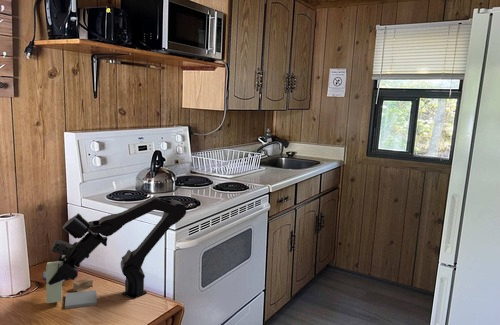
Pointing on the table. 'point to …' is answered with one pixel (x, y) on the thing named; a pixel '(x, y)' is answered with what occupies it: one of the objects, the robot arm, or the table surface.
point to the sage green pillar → (55, 289)
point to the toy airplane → (45, 276)
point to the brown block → (82, 284)
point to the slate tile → (81, 299)
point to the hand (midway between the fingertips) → (49, 281)
